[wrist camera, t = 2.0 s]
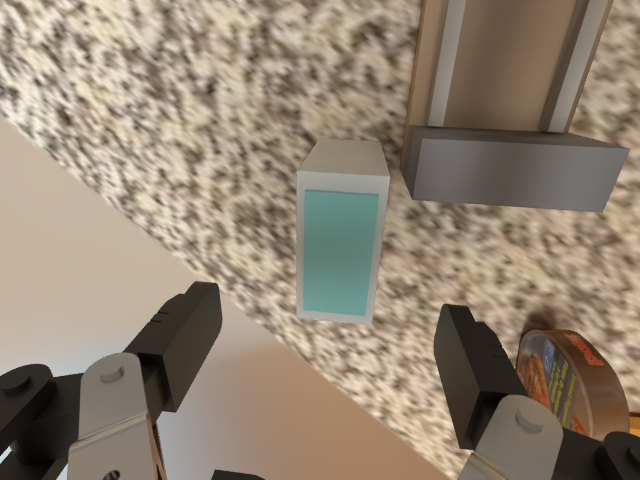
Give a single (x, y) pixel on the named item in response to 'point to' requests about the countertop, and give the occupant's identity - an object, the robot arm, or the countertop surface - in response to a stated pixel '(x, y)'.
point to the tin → (573, 382)
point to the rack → (506, 106)
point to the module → (340, 229)
